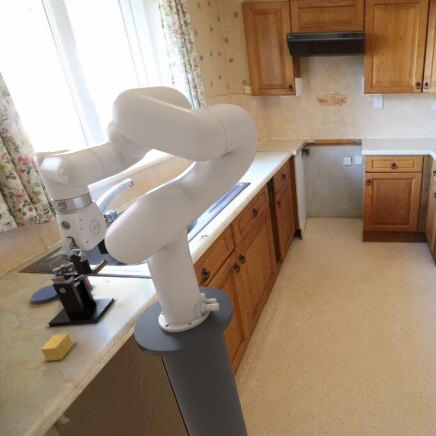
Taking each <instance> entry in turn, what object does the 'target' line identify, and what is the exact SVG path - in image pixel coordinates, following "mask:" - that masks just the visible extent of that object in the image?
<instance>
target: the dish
mask: <svg viewBox="0 0 436 436" xmlns="http://www.w3.org/2000/svg"><path fill="white" fill-rule="evenodd" d="M30 299H31V301H32V303H33V304H37V305H39V304H40V305H41V304H45V303H50V302H52V301H55V300H56V299H59V297H58V295H57V293H56V291H55V289H54V287H53V284H50V285H46V286H44V287H41V288H39V289H37V290H36V291H35V292H33V293H32V295H31V296H30Z"/></svg>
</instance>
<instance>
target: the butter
mask: <svg viewBox="0 0 436 436" xmlns="http://www.w3.org/2000/svg"><path fill="white" fill-rule="evenodd" d="M73 346H74V343H73V341H72V339H71V337H70V335H69V333H63V334H53V336H52V337H51V338H50V339H49V340H48V341H47V342H46V343H45V344H44V346H42V348H41V349H40V351H41V352H42V354H43V356H44V358H45V359H46V361H49V362H50V361H60V360H63V359H64V358H65V356H66V355H67V353H69V351H70V350H71V349H72V348H73Z"/></svg>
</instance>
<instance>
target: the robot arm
mask: <svg viewBox="0 0 436 436" xmlns="http://www.w3.org/2000/svg"><path fill="white" fill-rule="evenodd" d="M110 118H111V119H109V120H108V121H107V124H106V126H105V127H106V128H105V132H106V136H107V138H108V139H107V140H106V141H104V142H101V143H98V144H94V145H90V146H86V147H83V148H79V149H75V150H73V149H72V148H69V147H53V148H51V147H50V148H46V149H41V150H39V151H36V152H35V153H34V154H33V162H34V165H35V167H36V169H37V172H38V174H39V177H40V180H41V181H42V185H43V186H44V189H45V191H46V193H47V194H48V198H49V200H50V202H51V205H52V207H53V209H54V212H55V217H56V223H57V226H58V229H59V233H60V235H61V238H62V241H63V243H64V244H63V246H62V247H61V249H60V251H59V256H61V257H62V258H64V259H65V261H67V262H70V263H73V265H74V267H75V269H76V271H77V274H78V275H90V274H92V269H93V268H92V267H91V264H90V261H89V259H86V253H87V251H91V250H93V249H94V248H95V247H96V246H97V248H98V251H99V253H100V255H109V256H111V257H112V259H114V260H115V261H117V262H119V263H123V264H127V265H136V264H140V263H143V262H146V264H147V268H148V272H149V275H150V278H151V281H152V283H153V286H154V291H155V293H156V296H157V298H158V300H159V302H160V305H161V308H162V312H161V314H160V316H159V319H158V321H159V325H160V327H161V328H162V329H163V330H165V331H168V332H182V331H186V330H189V329H191V328H194V327H196V326H197V325H199V324H200V323H202V322H203V321H204V320H205V319H206V318H207V317H208V315H209V313H210V311H219V303H217V299H216V298H214V299H207V298H206V297H205V293H200V289H199V287H200V286H199V285H200V284H199V282H198V278H197V273H196V270H195V266H194V263H193V259H192V258H193V257H192V254H191V250H190V245H189V236H188V227H190V226H191V225H192V224H194V223H195V222H196V221H197V220H198V219H200V217H202V216H203V214H205V212H206V211H207V210H209V208H211V206H213V205H214V204H215V203H216V202H217V201H219V200H220V199H222V197H224V195H225V194H226V193H228V192H229V191H230V190H231V189H232V188H234V187H235V185H237V184H238V183H239V182H240V180H241V179H242V178H243V177H244V176H245V175H246V174H247V172H248V171H249V169H250V168H251V166H252V164H253V162H254V160H255V157H256V154H257V151H258V131H257V127H256V123H255V121H254V119H253V117H252V116H251V114H250V113H249V112H248V111H247V110H246V109H245V108H243V107H242V106H239V105H237V104H233V103H218V104H217V103H216V104H212V105H207V106H204V107H197V108H192V105H191V102H190V101H189V99H188V98H187V96H186V95H185V94H184V93H183V92H181V91H180V90H178V89H176V88H173V87H170V86H165V85H164V86H163V85H161V86H160V85H158V86H157V85H156V86H148V87H136V88H129V89H125V90H123V91H121V92H119V93H118V94H117V95H116V96H115V98H114V99H113V100H112V103H111V107H110ZM152 150H156V151H158V152H162V153H166V154H169V155H171V156H175V157H178V158H180V159H184V160H187V161H191V162H193V163H192V164H191V165H190V166H189V167H188V168H186V170H185V171H183V172H182V173H181V174H180V175H178V176H177V177H176V178H174V179H172V180H169V181H167V182H165V183H163V184H160V185H159V186H157V187H155V188H153V189H151V190H148V191H147V192H146V193H144V194H142V195H140V196H139V197H138V198H137V199H135V200H134V201H133V202H132V203H131V204H130V205H129V206H127V208H126V209H125V210H124V211H123V212H122V213H120V215H119V216H117V218H116V219H114V221H112V222H111V224H110V225H109V220H108V219H105V218H104V215H103V213H102V211H101V209H100V208H99V205H98V204H97V203H96V201H95V200H93V197H92V193H91V192H90V189H89V186H90V185H93V184H96V183H99V182H100V181H103V180H105V179H108V178H111V177H113V176H116V175H119V174H121V173H123V172H125V171H126V170H128V169H130V168H131V167H133V166H134V165H136V164H137V163H139V162H140V161H142V160H143V159H144V158H145V156H146V155H147V154H148V153H149V152H150V151H152ZM77 253H79V255H77ZM92 275H93V274H92ZM90 276H91V275H90Z"/></svg>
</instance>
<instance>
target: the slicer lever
mask: <svg viewBox="0 0 436 436" xmlns="http://www.w3.org/2000/svg"><path fill="white" fill-rule="evenodd" d="M108 264H109V262H108V260H106V259H103V260H101V261H100V262H99V263H98V264H97V265H96V266H94V267H92V268H91V269H92V274H90V275H80V276H79V277H77V278H75V277H74V276H72V277H71V278H69V279H67V280H65V281H64V282H67V281H73V283H74V285H75V287H76V286H77V285H78V284H79V283H80V282H79V281H81V280H83V279H84V278H86V277H90V276H92V275H93V276H97V275H98V274H99V273H100V272H101V271H102V270H103V269H104V268H105V267H106V266H107V265H108Z"/></svg>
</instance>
